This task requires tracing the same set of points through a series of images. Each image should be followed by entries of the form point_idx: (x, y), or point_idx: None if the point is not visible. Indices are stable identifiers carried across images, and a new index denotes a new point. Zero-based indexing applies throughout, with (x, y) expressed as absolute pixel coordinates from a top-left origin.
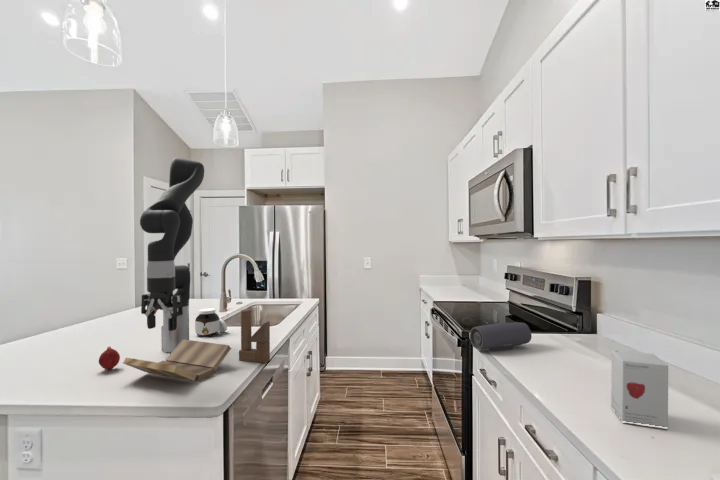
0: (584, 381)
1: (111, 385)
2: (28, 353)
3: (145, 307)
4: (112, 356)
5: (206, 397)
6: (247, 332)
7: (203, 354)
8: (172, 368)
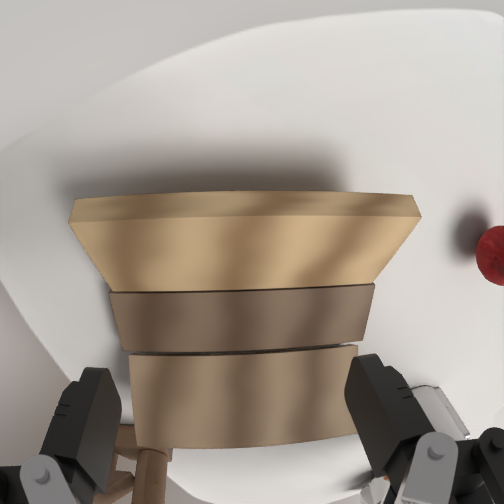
0: None
1: (389, 146)
2: None
3: (492, 498)
4: (498, 255)
5: (4, 203)
6: (133, 496)
7: (211, 400)
8: (86, 209)
